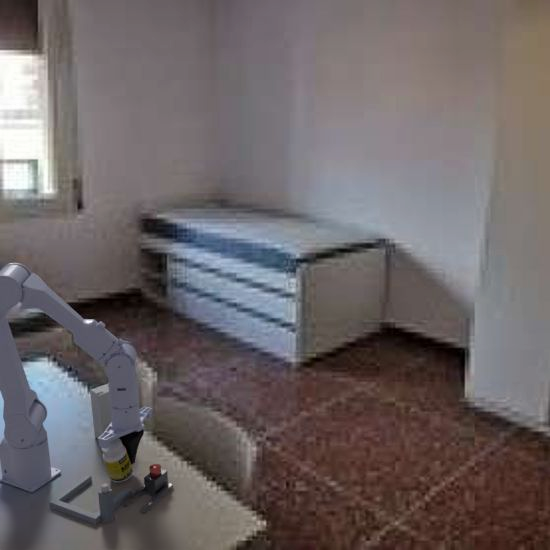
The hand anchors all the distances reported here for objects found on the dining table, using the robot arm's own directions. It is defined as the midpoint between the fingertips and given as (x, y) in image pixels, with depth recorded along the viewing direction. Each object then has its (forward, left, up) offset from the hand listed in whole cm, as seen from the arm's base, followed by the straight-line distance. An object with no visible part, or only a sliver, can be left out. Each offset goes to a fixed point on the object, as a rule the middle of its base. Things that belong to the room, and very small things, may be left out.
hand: (129, 462), depth 138 cm
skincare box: (-13, +9, -2) cm, 16 cm away
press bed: (+1, -11, -2) cm, 12 cm away
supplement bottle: (0, -2, -1) cm, 3 cm away
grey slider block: (+9, -3, -2) cm, 10 cm away
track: (+9, -5, -2) cm, 11 cm away
